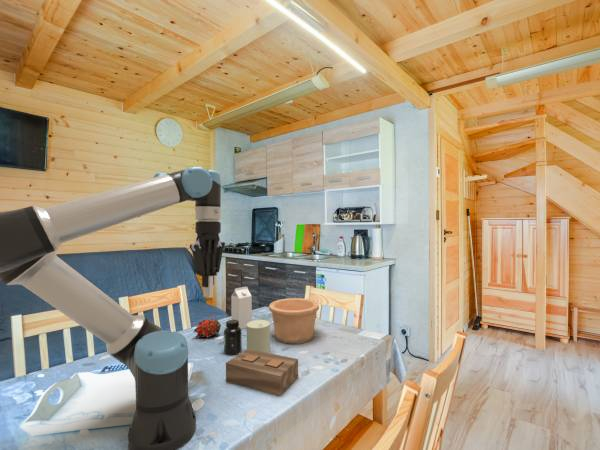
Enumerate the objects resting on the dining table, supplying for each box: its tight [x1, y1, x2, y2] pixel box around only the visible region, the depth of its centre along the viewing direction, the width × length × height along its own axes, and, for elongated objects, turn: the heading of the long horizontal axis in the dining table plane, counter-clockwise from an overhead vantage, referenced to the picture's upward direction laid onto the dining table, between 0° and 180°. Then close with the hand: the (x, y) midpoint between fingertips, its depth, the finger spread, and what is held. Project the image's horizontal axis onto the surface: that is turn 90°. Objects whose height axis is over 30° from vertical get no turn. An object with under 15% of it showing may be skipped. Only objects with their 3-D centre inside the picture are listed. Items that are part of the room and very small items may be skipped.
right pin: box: [266, 359, 283, 368], centre depth 99 cm, size 4×4×6 cm
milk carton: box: [230, 286, 253, 330], centre depth 151 cm, size 7×7×19 cm
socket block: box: [225, 348, 299, 397], centre depth 101 cm, size 12×20×6 cm, turn 64°
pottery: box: [268, 297, 320, 345], centre depth 137 cm, size 22×22×14 cm
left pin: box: [242, 354, 259, 363], centre depth 103 cm, size 4×4×6 cm
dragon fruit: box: [193, 317, 222, 339], centre depth 138 cm, size 8×8×12 cm
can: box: [246, 319, 271, 353], centre depth 121 cm, size 9×9×12 cm
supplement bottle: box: [223, 319, 243, 356], centre depth 122 cm, size 7×7×12 cm
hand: (208, 296), depth 97 cm, fingers closed
